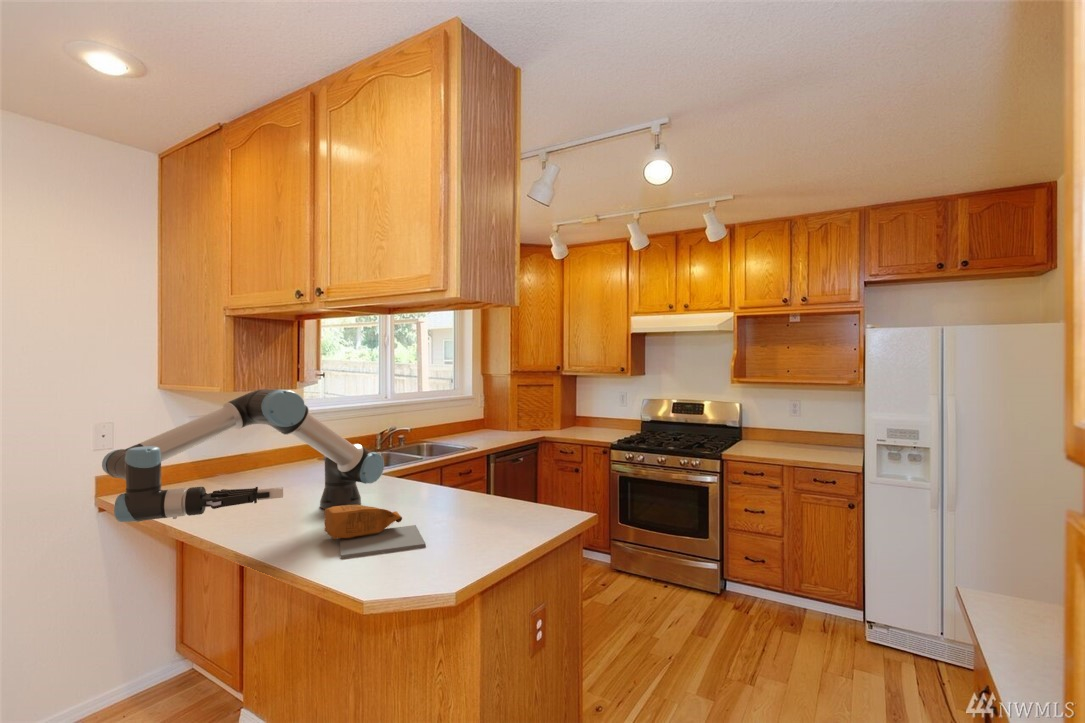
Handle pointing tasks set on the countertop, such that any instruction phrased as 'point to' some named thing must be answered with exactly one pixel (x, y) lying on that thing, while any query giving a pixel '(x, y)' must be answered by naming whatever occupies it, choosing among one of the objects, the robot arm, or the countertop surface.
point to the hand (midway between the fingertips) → (282, 492)
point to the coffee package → (357, 520)
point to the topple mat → (382, 542)
